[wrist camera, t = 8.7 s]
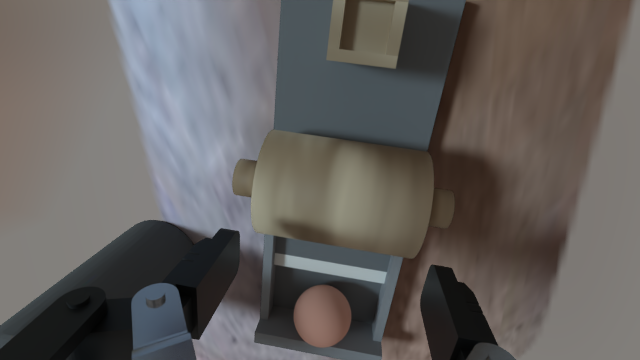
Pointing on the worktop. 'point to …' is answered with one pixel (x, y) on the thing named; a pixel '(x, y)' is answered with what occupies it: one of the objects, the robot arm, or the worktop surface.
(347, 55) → the light wooden block
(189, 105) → the worktop surface
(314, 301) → the ball
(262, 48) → the worktop surface
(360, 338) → the grey long tray
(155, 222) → the bottle
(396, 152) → the maple rolling pin
